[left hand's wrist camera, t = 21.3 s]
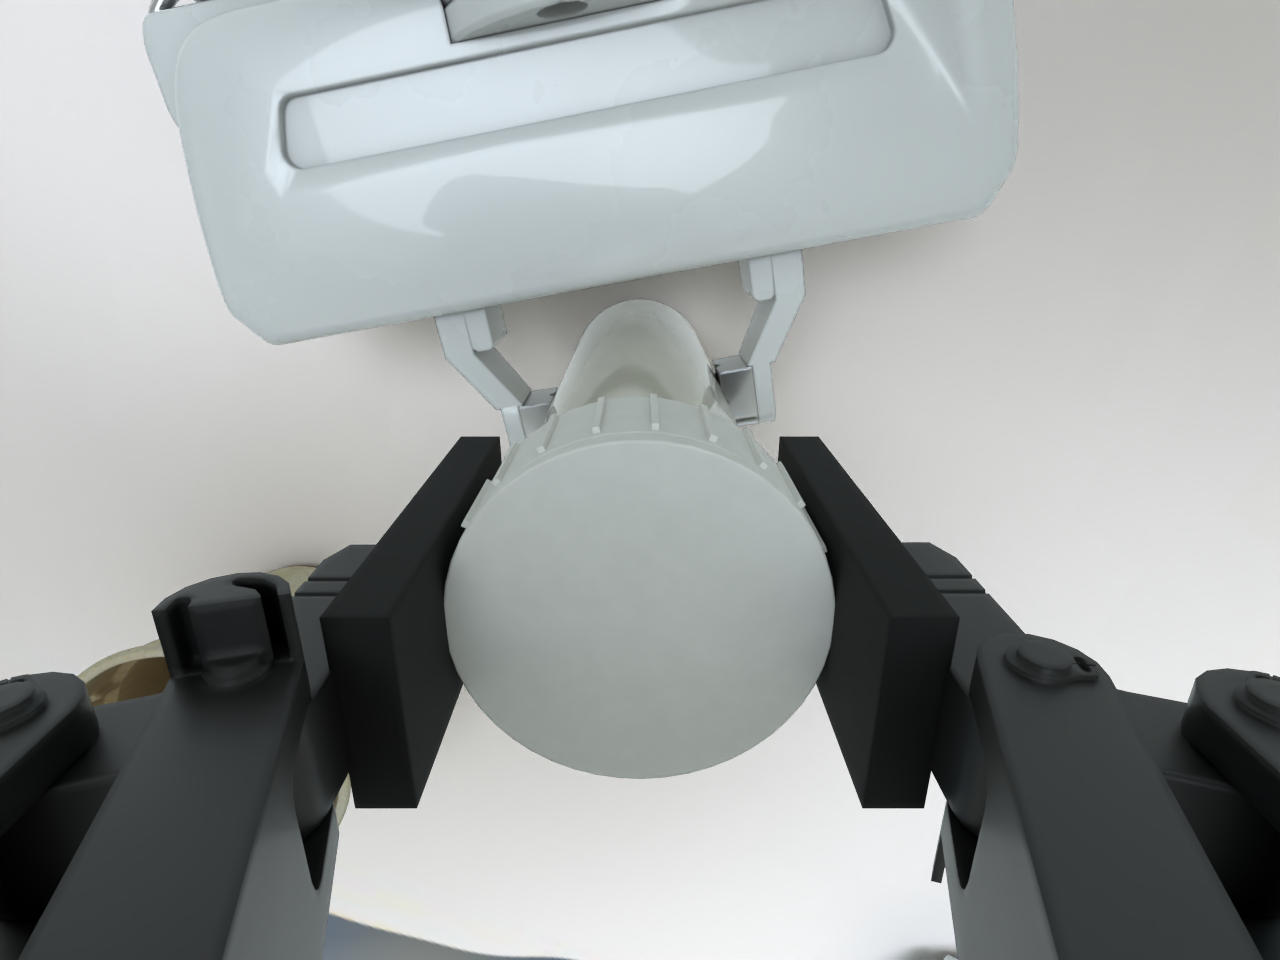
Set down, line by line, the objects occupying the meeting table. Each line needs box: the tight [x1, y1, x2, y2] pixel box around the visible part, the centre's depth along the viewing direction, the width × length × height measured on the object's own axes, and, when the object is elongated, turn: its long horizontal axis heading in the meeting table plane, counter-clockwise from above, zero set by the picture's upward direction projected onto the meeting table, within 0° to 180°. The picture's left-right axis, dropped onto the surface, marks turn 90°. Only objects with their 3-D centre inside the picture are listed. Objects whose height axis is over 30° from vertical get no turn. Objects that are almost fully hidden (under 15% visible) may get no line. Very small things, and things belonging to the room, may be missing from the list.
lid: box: [444, 393, 835, 779], centre depth 11 cm, size 6×6×2 cm
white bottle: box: [541, 299, 738, 426], centre depth 19 cm, size 5×5×17 cm
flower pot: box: [77, 566, 351, 826], centre depth 27 cm, size 9×9×9 cm
